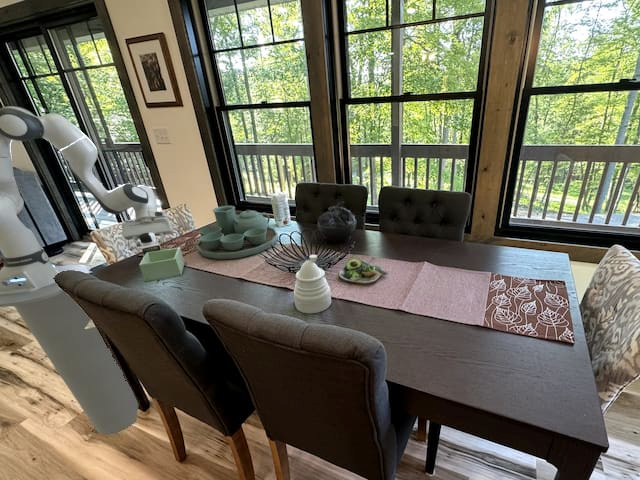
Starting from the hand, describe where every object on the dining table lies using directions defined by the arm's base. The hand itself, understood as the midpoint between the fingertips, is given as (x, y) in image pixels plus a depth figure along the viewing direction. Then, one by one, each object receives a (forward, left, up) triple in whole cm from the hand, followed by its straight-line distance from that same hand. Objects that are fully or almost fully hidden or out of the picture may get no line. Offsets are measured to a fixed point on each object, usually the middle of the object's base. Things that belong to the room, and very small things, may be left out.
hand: (149, 244), depth 144 cm
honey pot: (+61, -65, -9) cm, 90 cm away
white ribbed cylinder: (+64, +27, -9) cm, 70 cm away
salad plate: (+84, -52, -9) cm, 100 cm away
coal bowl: (+87, -11, -9) cm, 88 cm away
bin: (+6, -13, -9) cm, 17 cm away
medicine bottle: (0, +1, -7) cm, 7 cm away
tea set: (+38, +6, -9) cm, 40 cm away
